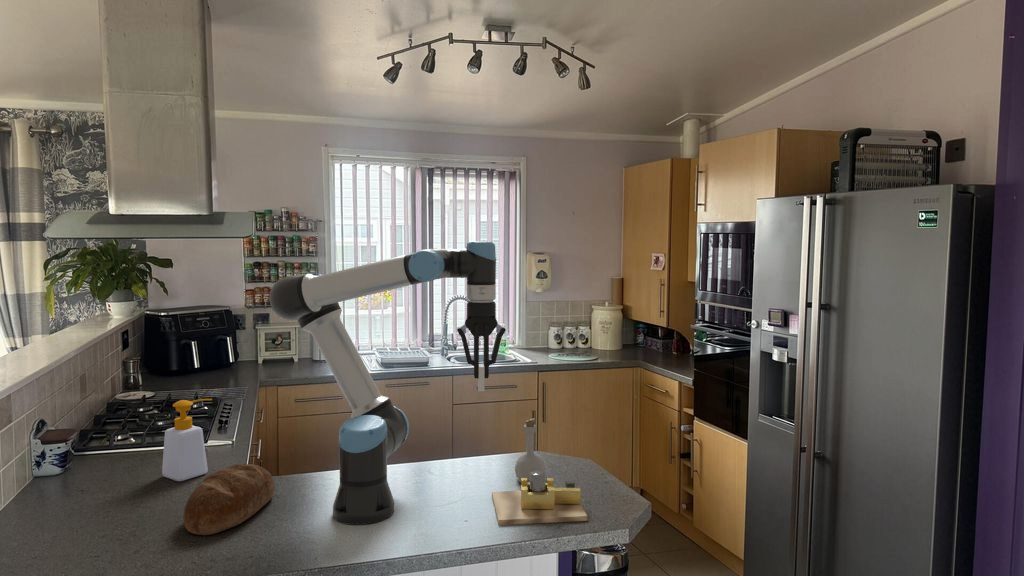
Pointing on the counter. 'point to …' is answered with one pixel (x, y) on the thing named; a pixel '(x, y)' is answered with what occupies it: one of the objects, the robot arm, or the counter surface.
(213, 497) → the bread
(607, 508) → the counter surface
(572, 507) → the oak board
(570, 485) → the block
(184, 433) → the soap bottle
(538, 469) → the potion bottle
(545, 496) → the handled square frame
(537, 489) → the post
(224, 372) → the counter surface
